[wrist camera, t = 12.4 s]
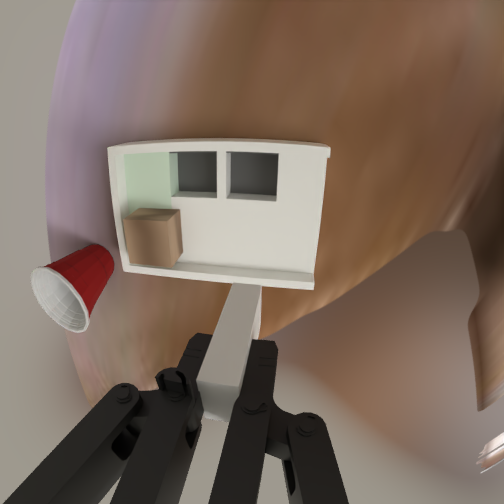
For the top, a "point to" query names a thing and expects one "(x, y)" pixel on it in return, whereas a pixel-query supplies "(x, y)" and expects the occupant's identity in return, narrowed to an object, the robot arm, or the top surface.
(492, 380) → the top surface
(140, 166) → the box
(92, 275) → the plastic cup
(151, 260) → the walnut block
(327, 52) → the top surface
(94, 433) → the robot arm
